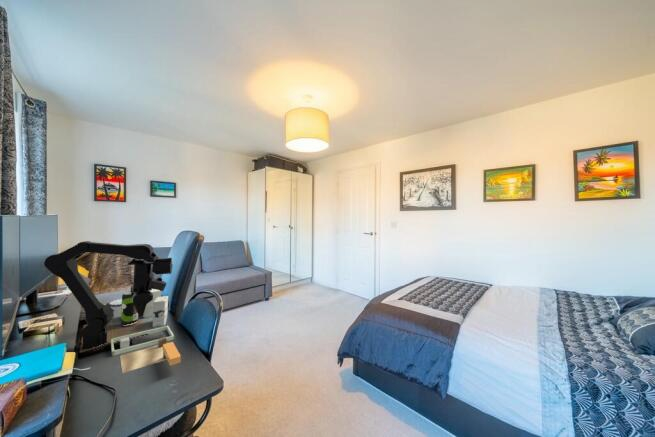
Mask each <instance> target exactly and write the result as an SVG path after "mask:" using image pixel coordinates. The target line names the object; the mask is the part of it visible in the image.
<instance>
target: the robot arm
mask: <svg viewBox="0 0 655 437" xmlns="http://www.w3.org/2000/svg"><path fill="white" fill-rule="evenodd" d="M87 253H93V254H106V255H116V256H117V255H118V256H125V257H128V258H131V261H129V262H128V263H127V265H128V266H130V265H131V266H133V276H132V285H131V286H130V291H131V295H132V301H133V304H134V306H135V308H136V310H137V313H138V318H139V317H140V318H141V317H143V314H144V311H145V308H146V305H147V303H149V302H150V301H152V300H153V294H152V292H150V290H152V289H156V290H160V291H161V292H164V290H165V289H166V287H167V282H166V281H163V278H162V277H157V278H152V273H153V274H154V275H172V272H173V268H174V267H173V265H174V264H173V258H172V257H164V258H163V257H162V258H160V257H159V256H157V254H156V252H154V248H153V246H152V245H151V244H148V243H137V244H117V243H105V242H95V241H90V240H89V241H88V240H87V241H86V240H85V241H84V240H83V241H81V242H78V243H77V244H75V245H73V246H72V247H69V248H68V249H66V250H63V251H61V252H59V253H55V254H51V255H49V256H47V257H46V258H45V260H44V262H43V265H44V267H45V268H46V270H48V271H49V272H50V274H53V275H54V276H56V277H58V278H59V279H61V280H62V281H63V282H64V284H65V285H66V286H67V288H68V290H69V291H70V292H71V294H72V295H73V297H74V298H75V300H76V301H77V302H78V304H80V306H81V308H82V309H83V310H84V316H85V322H86V323H87V325H85V326H84V327H83V328H82V329H81V330H80V331H79V332H78V333H79V335H80V337H81V338H82V343H81V344H82V345H81V350H82V349H83V350H88V349H94V348H93V347H95V348H97V346H98V347H100V346H102V345H101V344H104V343H107V344H108V331H106V326H108V324H109V323H110V322H111V321H112V320H113V318H114V316H115V314H114V312H115V309H113V308H112V306H111V305H110V303H109V302H107V303H105V304H103V303H102V302H100V301H99V299H98V298H97V296H96V295H95V294H94V292H93V291H92V290H91V288H90V287H89V285H88V283H87V282H86V281H85V280H84V278H83V277H82V275H81V274H80V272H79V265H78V261H77V259H78V258H81V257H83V255H85V254H87ZM99 345H100V346H99ZM104 345H105V344H104Z"/></svg>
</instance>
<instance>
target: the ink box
mask: <svg viewBox="0 0 655 437" xmlns="http://www.w3.org/2000/svg"><path fill="white" fill-rule="evenodd" d="M168 305H169V296H168V295H163V296H162V295H161V297H157V298H156V299H155V301H154V302H153V316H152V328H158V327H165V326H166V323H167V320H168V310H169V309H168V308H169V307H168Z"/></svg>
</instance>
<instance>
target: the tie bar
mask: <svg viewBox="0 0 655 437" xmlns="http://www.w3.org/2000/svg"><path fill="white" fill-rule="evenodd" d="M170 342H171V343H169V342H166V343H167V344H163V352H164V354H165V356H166V358H167V360H166V361H167V362H168V365H169V366H173V365H176V364H180V363H181V361H182V360H181V359H182V357H181V356H182V355H181V354H180V352H179V351H178V348H177V347H176V345H175V343H174V342H173V341H170Z"/></svg>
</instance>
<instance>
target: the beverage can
mask: <svg viewBox="0 0 655 437" xmlns="http://www.w3.org/2000/svg"><path fill="white" fill-rule="evenodd" d="M120 311H121V312H120V325H121V326H122V325H127V324H131V323H134V322H136V321H139V315H138V313H137V310H136V308H135V306H134V304H133V301H132V295H131V290H128V291H124V292H122V296H121V310H120Z"/></svg>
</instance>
